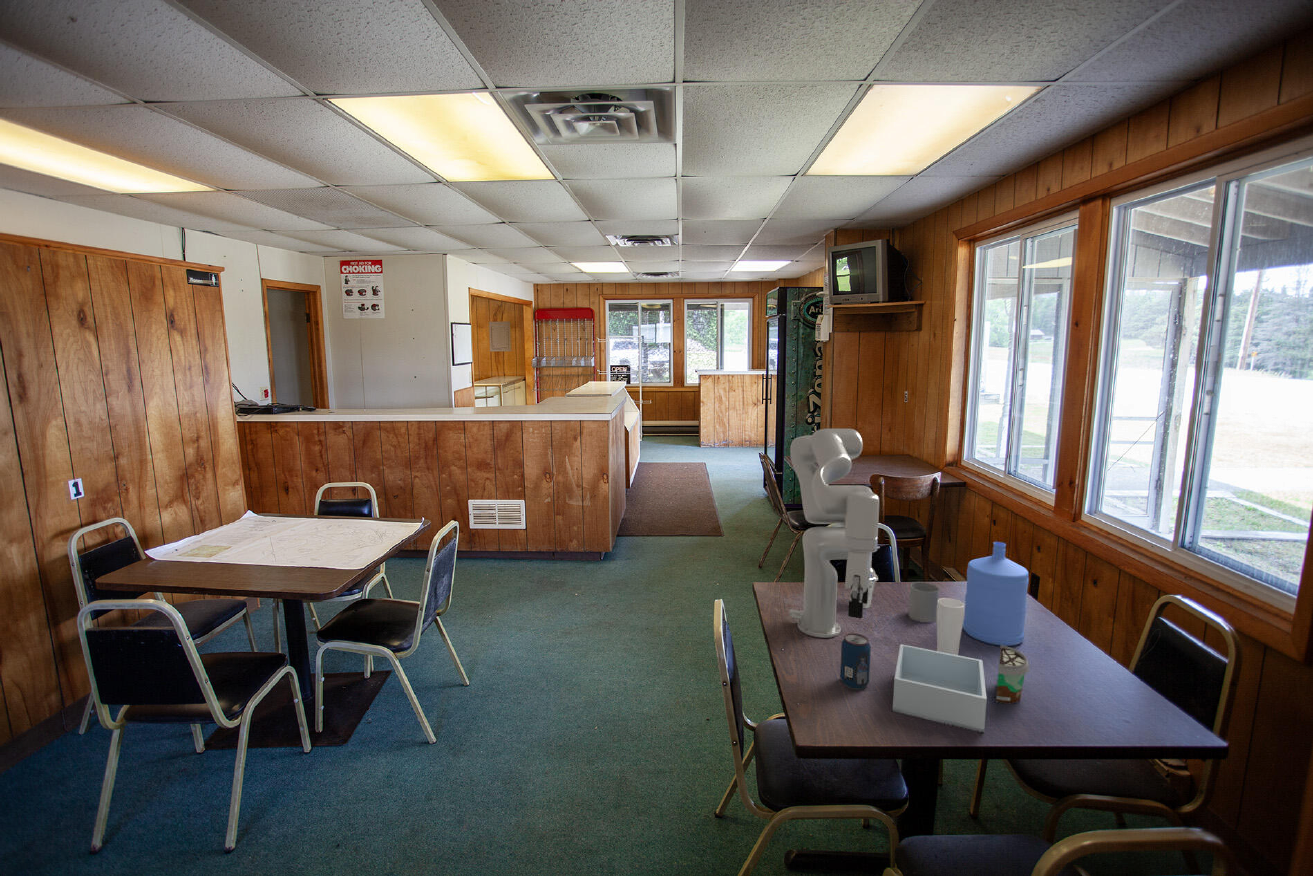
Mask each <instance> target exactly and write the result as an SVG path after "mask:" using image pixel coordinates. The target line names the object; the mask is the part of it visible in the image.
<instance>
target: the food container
mask: <svg viewBox="0 0 1313 876" xmlns="http://www.w3.org/2000/svg"><path fill="white" fill-rule="evenodd" d="M1029 671H1030V667H1029V661H1028V659H1027V656H1026V655H1025V654H1024V653H1022V652H1021V651H1019V650H1017V649H1016V648H1013V647H1011V646H1010V647H1009V646H1004V645H1001V646H1000V650H999V662H998V672H997V683H996V684H997V685H996V686H997V687H996V698H995V702H996V701H998V702H997V703H999V702H1001V703H1000V704H1006V703H1012V704H1016V702H1017V703H1018V701H1019V702H1020V701H1021V699H1020V698H1022V693H1023V692H1022V691H1023V687H1024V686H1023V685H1024V680H1025V675H1026V674H1028V672H1029Z"/></svg>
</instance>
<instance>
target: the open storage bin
mask: <svg viewBox="0 0 1313 876" xmlns="http://www.w3.org/2000/svg"><path fill="white" fill-rule="evenodd" d="M894 674H895V675H894V683H893V700H892V712H896V713H900V714H904V715H909V716H912V717H914V718H915V717H917V718H920V719H925V720H928V721H933V722H936V723H941V724H944V723H945V725H948V724H949V725H948V726H952V725H955V726H954V727H956V726H958V727H957V728H960V727H965V728H968V729H967V730H969V729H974V730H981V731H984V732H985V726H986V725H985V724H986V715H987V714H986V712H987V691H986V690H987V689H986V682H985V673H984V664H983V660H982V659H978V658H973V657H968V656H963V655H959V654H958V655H954V654H948V653H943V652H938V651H937V650H932V649H927V648H922V647H917V646H912V645H907V644H902V643H901V644H899V651H898V657H897V662H896V667H895V673H894ZM965 728H964V729H965Z"/></svg>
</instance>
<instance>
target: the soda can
mask: <svg viewBox="0 0 1313 876" xmlns="http://www.w3.org/2000/svg"><path fill="white" fill-rule="evenodd" d="M871 650H872V649H871V644H870V642H869V638H868V637H867V636H864V635H863V634H859V633H846V634H845V635H844V637H843V639H842V641H841V648H840V669H839V670H840V673H839V678H840V681H841V682H842V684H843V685H844V686H845V687H847V688H849V689H851V690H857V691H860V690H863V689H865V688H866V687H867V686H868V685H869V683H870V674H871V673H870V671H871V669H870V668H871V667H870V666H871Z"/></svg>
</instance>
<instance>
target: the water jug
mask: <svg viewBox="0 0 1313 876" xmlns="http://www.w3.org/2000/svg"><path fill="white" fill-rule="evenodd" d="M1006 546H1007V544H1006V543H1005V542H1001V541H994V542H993V547H992V554H991V555H989V556H985V557H979V558H975V559H972V560H970V561H969V562H968V564H967V568H966V591H965V596H964V620H963V626H962V629H963V630H964V631H965V633H966V634H967V635H969V636H970V637H971V638H972V639H975V640H978V641H980V642H982V643H986V644H990V645H995V646H999V647H1001V645H1004V646H1007V647H1009V646H1010V647H1011V646H1017V645H1019V644H1021V643H1022V642H1023V641H1024V638H1025V631H1024V630H1025V623H1026V622H1025V618H1026V614H1027V597H1028V587H1029V571H1028V570H1027V568H1026V567H1024V566H1022V565H1020V564H1018V563H1016V562H1014V561H1012V560H1010V559H1009V558H1006Z"/></svg>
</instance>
